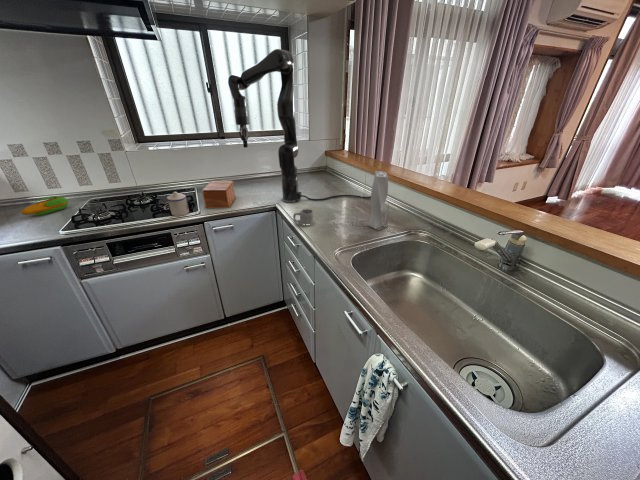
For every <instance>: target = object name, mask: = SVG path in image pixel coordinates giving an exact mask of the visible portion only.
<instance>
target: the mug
mask: <svg viewBox="0 0 640 480" xmlns="http://www.w3.org/2000/svg"><path fill="white" fill-rule="evenodd" d="M314 213H315V212H314V209H310V208H303V209H300V211H299V212H295V213H293V215H292V216H293V217H292V219H293V222H294V223H298V224H299V225H300V226H301V227H304V228H305V227H306V228H308V227H312V226H314V215H315V214H314ZM296 216H299V219H296ZM312 223H313V224H312ZM303 224H305V225H303ZM306 224H310V225H306Z"/></svg>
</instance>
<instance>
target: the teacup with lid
mask: <svg viewBox="0 0 640 480" xmlns="http://www.w3.org/2000/svg"><path fill="white" fill-rule="evenodd" d="M166 200H167V202H168V207H169V210H170V213H171V215H172V216H175V217H180V216H185V215H187V214H189V212H190V208H189V205H188V200H187V196H186V195H185V194H184V193H179V192H177V191H173V192H172V194H170V195H169V196H167V197H166Z"/></svg>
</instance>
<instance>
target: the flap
mask: <svg viewBox="0 0 640 480" xmlns="http://www.w3.org/2000/svg"><path fill="white" fill-rule="evenodd" d="M232 182H233V183H234V180H211V181H209V182H208V183H207V184H206V186H216V185H231V183H232Z"/></svg>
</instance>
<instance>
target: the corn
mask: <svg viewBox="0 0 640 480" xmlns="http://www.w3.org/2000/svg"><path fill="white" fill-rule="evenodd" d="M68 205H69V199H68V198H66V197H64V196H59V195H53V196H48V197H47V196H46V197H43V198H40V199H37V200H35V201H32V202H31V205H27V206H26V207H25V208H23V209H22V210H21V212H20V214H22V215H24V216H28V215H33V217H40V216H45V215H49V214H51V213H55V212H58V211H61V210H64V209H65V208H66V207H67V206H68Z"/></svg>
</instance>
